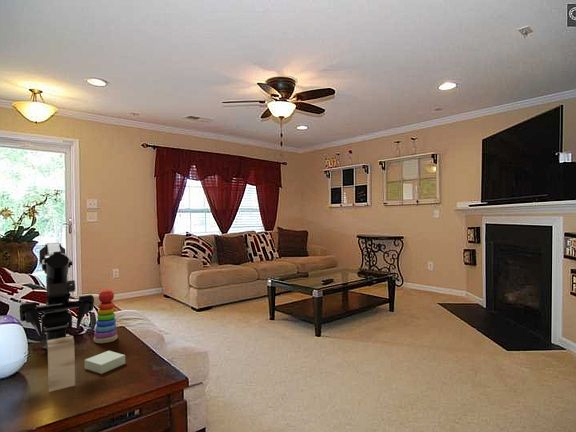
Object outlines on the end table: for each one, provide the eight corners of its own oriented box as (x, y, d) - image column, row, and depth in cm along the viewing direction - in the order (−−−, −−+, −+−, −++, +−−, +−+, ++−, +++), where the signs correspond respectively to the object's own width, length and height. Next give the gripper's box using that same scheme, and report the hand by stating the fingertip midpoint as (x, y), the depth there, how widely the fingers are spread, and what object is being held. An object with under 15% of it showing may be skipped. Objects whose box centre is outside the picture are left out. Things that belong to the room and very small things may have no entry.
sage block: (84, 369, 108) (84, 359, 108) (108, 359, 115) (108, 350, 115) (101, 375, 104) (101, 364, 104) (125, 364, 111) (125, 355, 111)
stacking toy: (107, 345, 127) (106, 292, 127) (88, 343, 129) (87, 291, 128) (122, 337, 135) (121, 287, 134) (104, 336, 136) (103, 287, 136)
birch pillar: (48, 383, 99) (47, 340, 99) (73, 377, 103) (72, 335, 102) (48, 391, 94) (47, 346, 94) (75, 385, 98) (74, 341, 97)
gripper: (19, 275, 102) (17, 323, 93) (92, 269, 113) (97, 311, 104) (21, 298, 109) (20, 344, 100) (90, 289, 120) (95, 331, 111)
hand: (59, 332), depth 104 cm, fingers open, 9 cm apart
